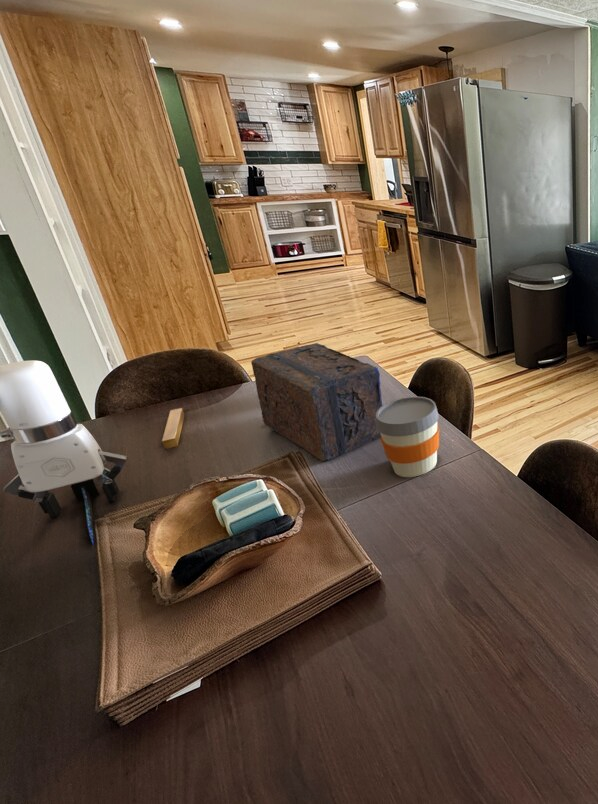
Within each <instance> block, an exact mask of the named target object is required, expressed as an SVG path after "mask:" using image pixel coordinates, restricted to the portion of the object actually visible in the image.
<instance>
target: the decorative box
mask: <svg viewBox="0 0 598 804" xmlns="http://www.w3.org/2000/svg"><path fill="white" fill-rule="evenodd" d="M250 363H251V367H252V372H253V375H254V376H253V377H254V380H255V386H256V393H257V397H258V401H259V407H260V411H261V416H262V417H261V418H262V421H263V424H264V425H265V426H266V427H267V428H270V429H271V430H273V431H275V432H277V433H278V434H279V435H281V436H283V437H284V438H286V439H288V440H289V441H291V443H293V444H296V445H298V446H299V447H301V448H302V449H303V450H304V451H306V452H307V453H309V454H311V455H312V456H314V457H315V458H316V459H318V460H320V461H322V462H325V461H331V460H334V459H336V458H337V457H340V456H342V455H345V454H347V453H350V452H352V451H355V450H356V449H358V448H360V447H363V446H365V445H367V444H369V443H371V442H373V441H376V440H378V439H379V438H380V436H381V434H380V432H379V431H378V430H377V426H376V412H377V410H378V409H379V408H380V407H382V406H383V400H382V389H381V380H380V379H381V377H380V376H381V373H380V371H379V369H378V367H376V366H375V365H372V364H371V363H367V362H366V363H365V362H362V361H361V360H359V359H356V358H353V357H352V356H349V355H347V354H344V353H342V352H340V351H336V350H334V349H333V348H330V347H327V346H325V345H323V344H321V343H318V342H315V343H310V344H306V345H302V346H297V347H294V348H290V349H286V350H280V351H277V352H273V353H269V354H267V355H263V356H258V357H254V359H252V360H251V361H250Z"/></svg>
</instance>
